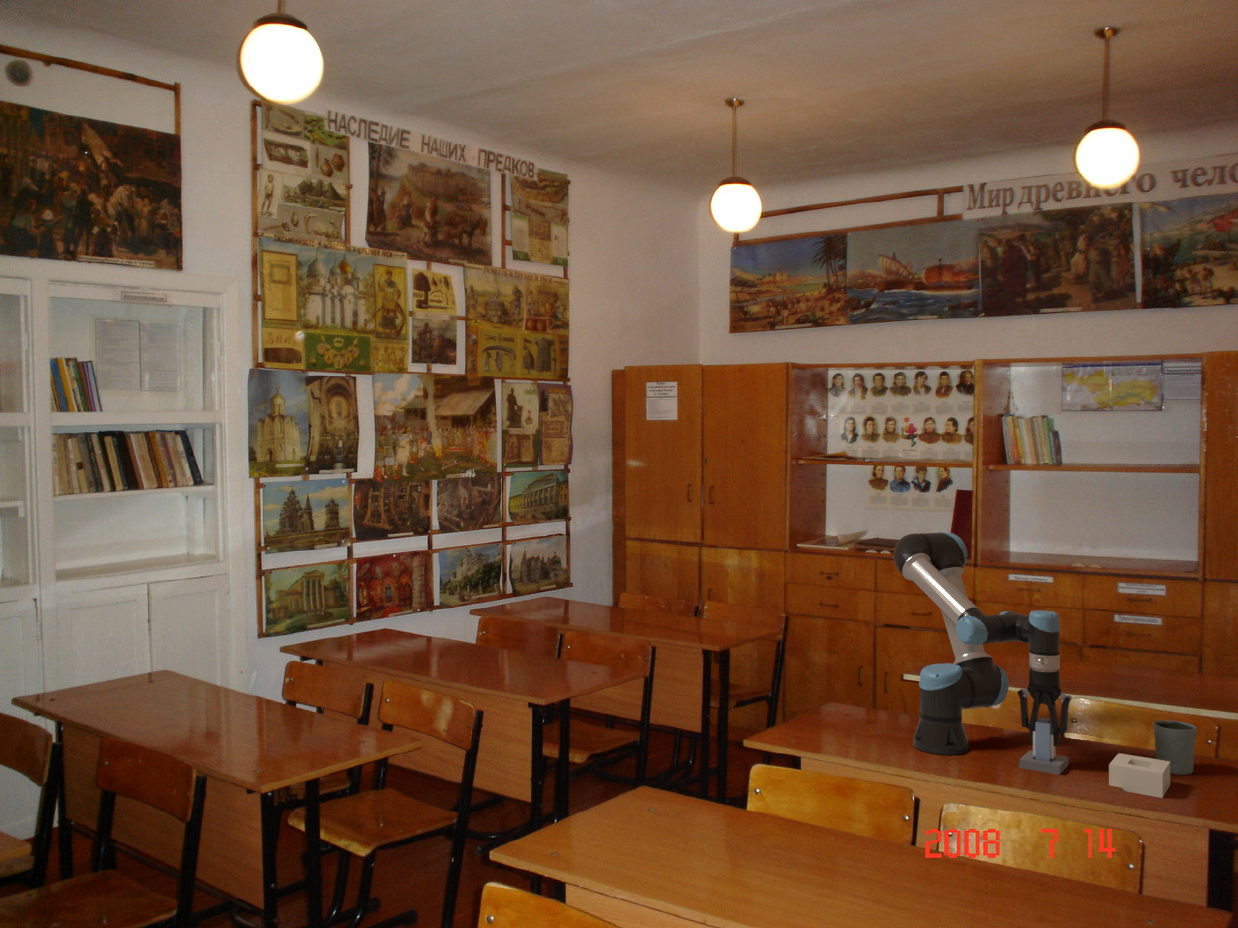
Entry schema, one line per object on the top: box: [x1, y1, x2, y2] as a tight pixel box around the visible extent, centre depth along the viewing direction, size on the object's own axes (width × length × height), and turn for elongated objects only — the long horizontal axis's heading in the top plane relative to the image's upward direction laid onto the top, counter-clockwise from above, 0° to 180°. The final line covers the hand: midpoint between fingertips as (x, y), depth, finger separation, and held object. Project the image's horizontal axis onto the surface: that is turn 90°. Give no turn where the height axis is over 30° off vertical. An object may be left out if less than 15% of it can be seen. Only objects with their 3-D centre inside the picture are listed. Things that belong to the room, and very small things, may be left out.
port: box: [1108, 752, 1171, 799], centre depth 250 cm, size 12×12×6 cm
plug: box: [1035, 716, 1053, 762], centre depth 264 cm, size 4×4×13 cm
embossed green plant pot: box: [1153, 719, 1198, 776], centre depth 264 cm, size 10×10×12 cm
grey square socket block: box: [1019, 750, 1070, 775], centre depth 264 cm, size 10×10×3 cm
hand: (1044, 755), depth 264 cm, fingers closed on plug, 4 cm apart
